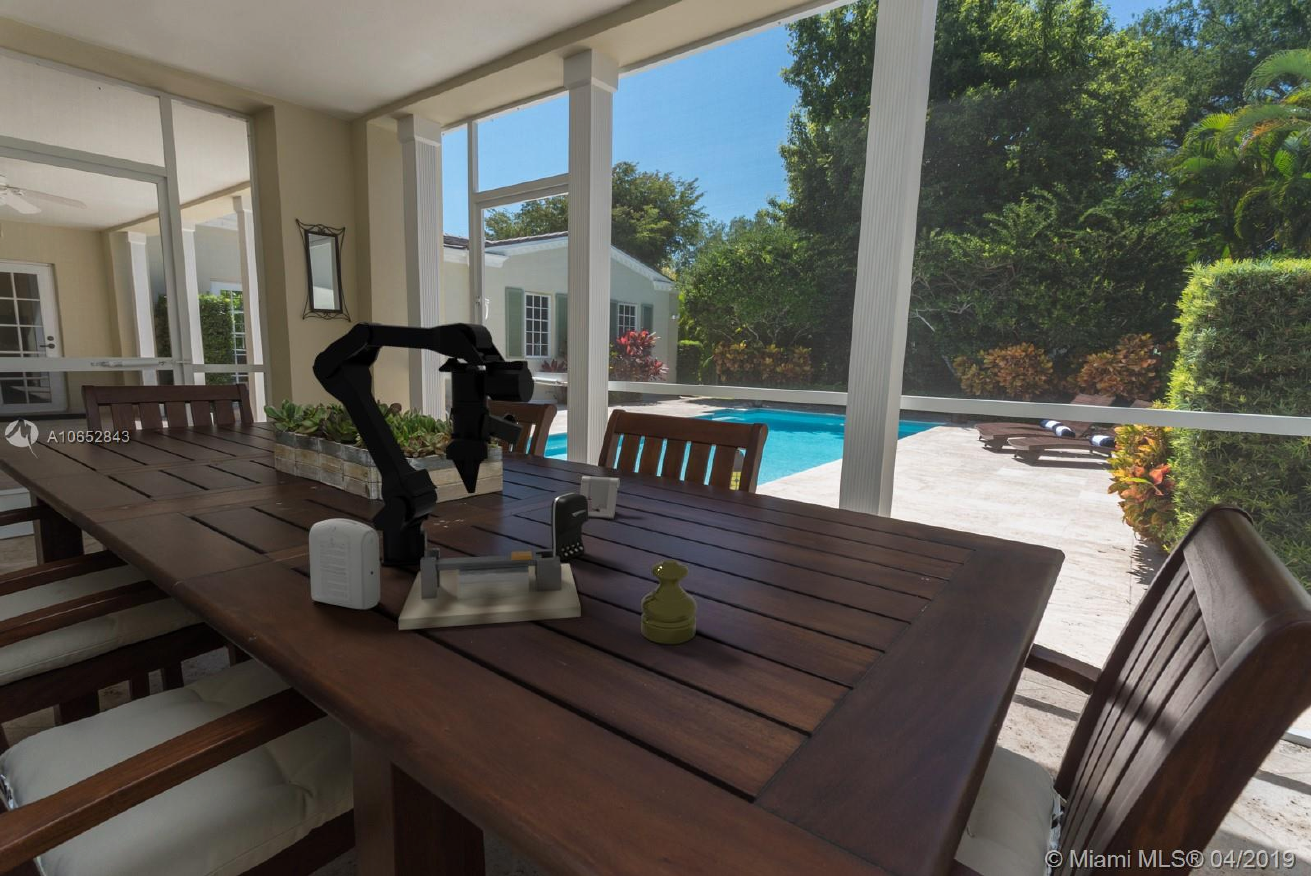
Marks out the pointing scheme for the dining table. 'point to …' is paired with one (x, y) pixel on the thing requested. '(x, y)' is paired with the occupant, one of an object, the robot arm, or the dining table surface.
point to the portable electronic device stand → (601, 494)
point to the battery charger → (568, 525)
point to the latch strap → (489, 561)
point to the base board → (488, 604)
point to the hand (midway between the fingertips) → (471, 493)
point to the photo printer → (344, 563)
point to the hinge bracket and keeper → (545, 578)
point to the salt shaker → (668, 606)
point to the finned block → (492, 583)
